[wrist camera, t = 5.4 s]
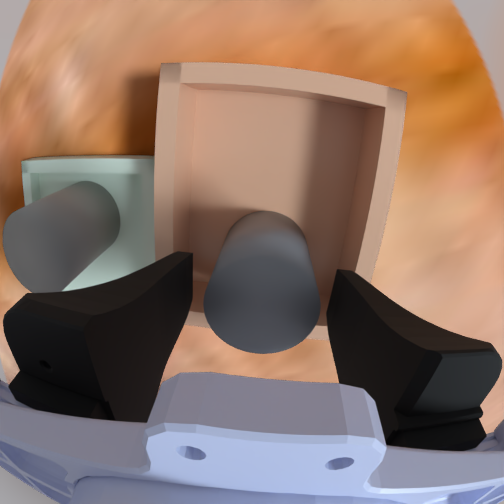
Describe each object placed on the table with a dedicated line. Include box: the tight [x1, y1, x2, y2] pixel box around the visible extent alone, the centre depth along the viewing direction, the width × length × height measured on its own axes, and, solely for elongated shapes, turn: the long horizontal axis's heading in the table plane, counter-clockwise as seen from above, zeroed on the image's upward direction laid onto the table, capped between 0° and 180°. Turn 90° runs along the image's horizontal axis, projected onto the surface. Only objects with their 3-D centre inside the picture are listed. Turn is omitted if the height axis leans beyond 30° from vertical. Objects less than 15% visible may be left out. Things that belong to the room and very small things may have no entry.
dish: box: [154, 62, 407, 340], centre depth 13 cm, size 11×9×3 cm
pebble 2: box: [203, 211, 321, 354], centre depth 13 cm, size 4×4×5 cm
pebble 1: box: [3, 181, 120, 293], centre depth 13 cm, size 4×4×5 cm
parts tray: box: [21, 155, 155, 291], centre depth 16 cm, size 12×9×1 cm
